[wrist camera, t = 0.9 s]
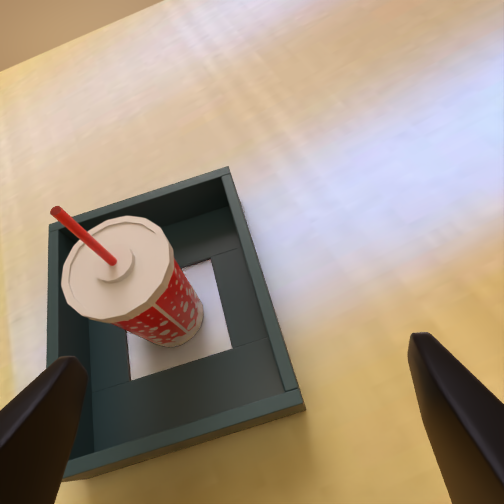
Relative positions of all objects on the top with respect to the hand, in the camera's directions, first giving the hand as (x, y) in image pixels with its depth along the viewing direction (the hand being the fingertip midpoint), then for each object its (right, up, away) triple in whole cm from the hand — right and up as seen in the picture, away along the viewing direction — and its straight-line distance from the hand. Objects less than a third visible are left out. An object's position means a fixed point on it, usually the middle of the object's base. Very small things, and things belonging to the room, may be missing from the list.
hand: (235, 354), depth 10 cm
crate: (-5, -2, +18) cm, 19 cm away
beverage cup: (-5, -2, +18) cm, 19 cm away
